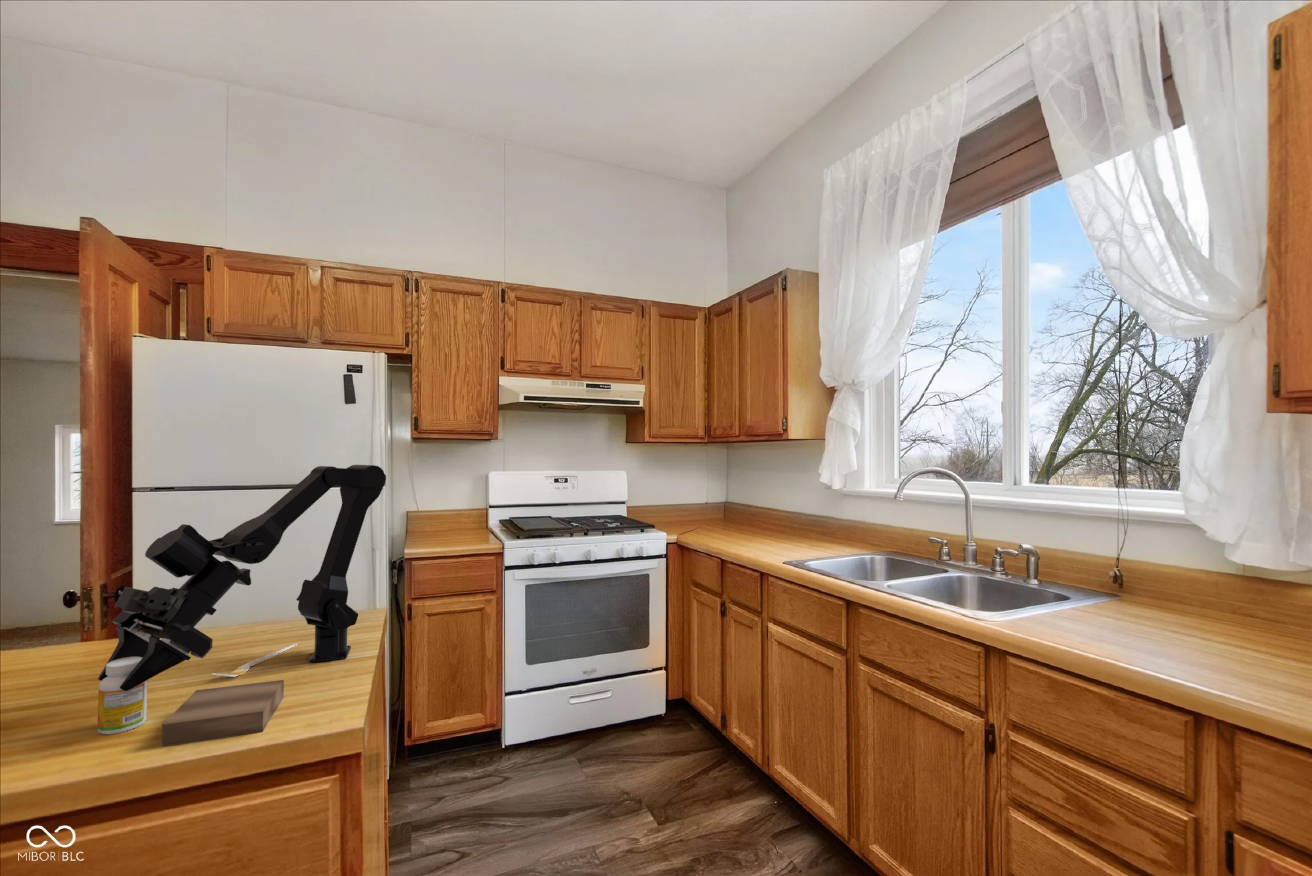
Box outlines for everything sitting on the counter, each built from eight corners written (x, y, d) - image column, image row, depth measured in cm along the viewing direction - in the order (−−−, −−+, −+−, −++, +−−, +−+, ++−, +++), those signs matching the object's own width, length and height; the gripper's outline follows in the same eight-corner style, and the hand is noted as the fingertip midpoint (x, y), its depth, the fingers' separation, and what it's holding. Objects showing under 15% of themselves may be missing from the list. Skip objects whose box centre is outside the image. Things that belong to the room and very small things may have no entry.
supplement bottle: (109, 720, 86) (111, 656, 86) (153, 715, 88) (155, 652, 88) (88, 737, 81) (90, 670, 81) (135, 731, 83) (137, 665, 83)
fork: (304, 647, 120) (304, 638, 120) (225, 684, 100) (226, 673, 100) (290, 647, 120) (290, 638, 121) (208, 683, 101) (209, 672, 101)
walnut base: (195, 708, 90) (196, 689, 90) (283, 697, 95) (283, 679, 95) (161, 746, 79) (162, 724, 79) (262, 731, 83) (263, 711, 83)
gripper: (129, 559, 93) (31, 648, 82) (191, 571, 84) (90, 671, 74) (185, 596, 100) (101, 682, 89) (247, 610, 91) (161, 707, 81)
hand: (111, 685), depth 83 cm, fingers open, 6 cm apart
